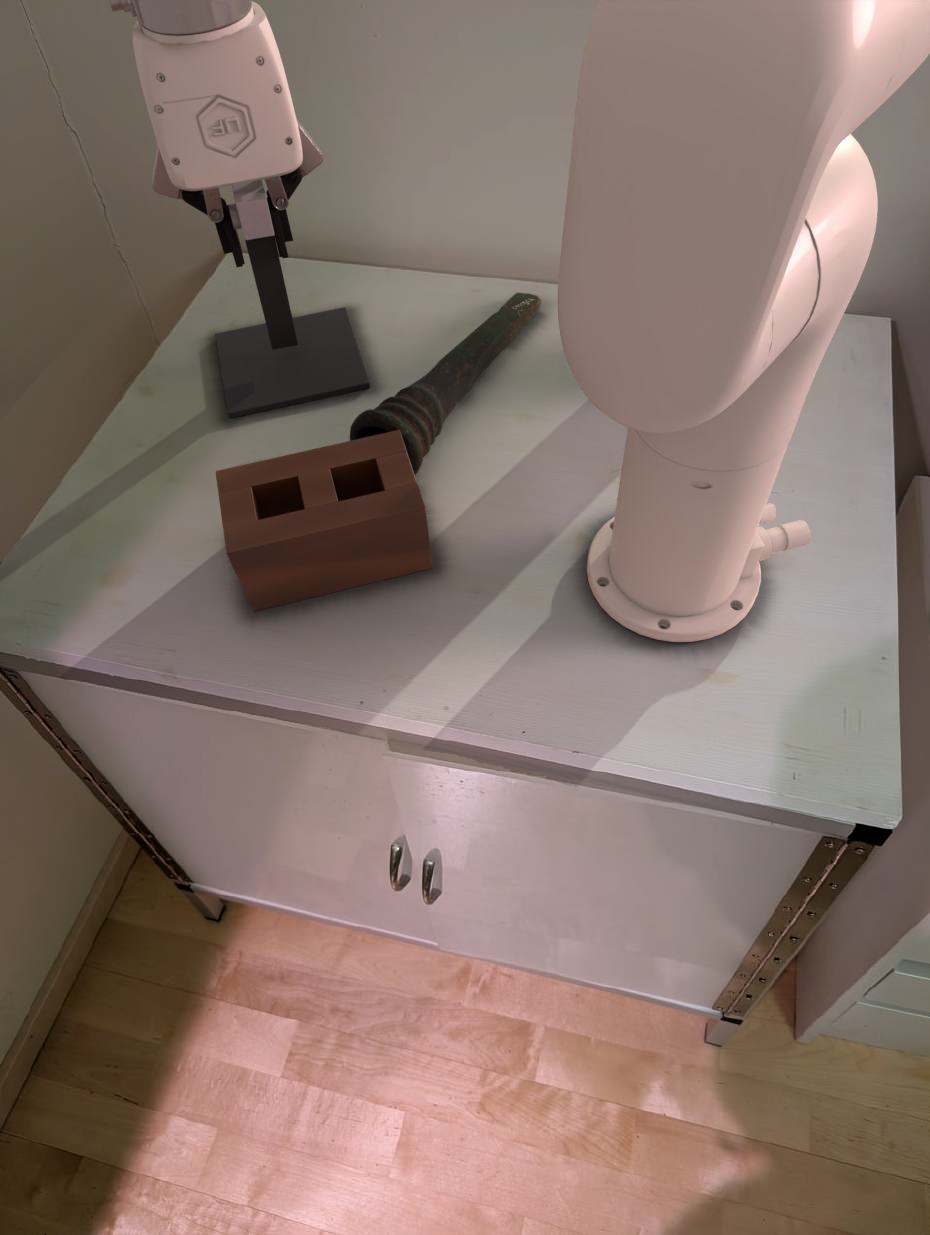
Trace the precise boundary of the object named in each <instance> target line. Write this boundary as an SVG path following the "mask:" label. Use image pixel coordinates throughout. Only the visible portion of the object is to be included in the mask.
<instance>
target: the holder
mask: <svg viewBox="0 0 930 1235" xmlns="http://www.w3.org/2000/svg"><path fill="white" fill-rule="evenodd" d="M215 478H216V479H215V480H216V486H217V487H216V488H217V493H218V494H217V495H218V501H219V509H220V516H221V524H222V528H223V529H222V531H223V537H224V538H223V539H224V545H225V553H226V556H227V558H228V560H229V562H230V564H231V567H232V569H233V571H234V573H235V576H236V578H237V580H238V582H239V584H240V586H241V589H242V591H243V593H244V595H245V598H246V600H247V603H248V604H249V607H250V609H251V611H252V612H253V613H254V612H258V611H262V610H266V609H271V608H274V607H278V606H283V605H287V604H291V603H295V602H299V601H303V600H308V599H311V598H317V597H320V596H323V595H328V594H332V593H336V592H340V591H344V590H348V589H353V588H356V587H361V586H365V585H369V584H373V583H377V582H381V581H385V580H390V579H393V578H398V577H402V576H406V575H410V574H415V573H418V572H422V571H427V570H431V569H433V568H434V563H433V556H432V549H431V548H432V547H431V541H430V532H429V527H428V518H427V512H426V505H425V502H424V499H423V496H422V493H421V490H420V487H419V484H418V481H417V478H416V475H414V472H413V468H412V465H411V462H410V459H409V456H408V453H407V450H406V447H405V444H404V441H403V438H402V435H401V432H400V430H396V431H392V432H388V433H383V434H379V435H374V436H370V437H365V438H361V439H356V440H352V441H350V440H348V441H344V442H339V443H335V444H331V445H326V446H321V447H317V448H312V449H309V450H303V451H299V452H294V453H290V454H286V455H281V456H276V457H272V458H267V459H262V460H258V461H254V462H250V463H249V462H248V463H245V464H241V465H237V466H232V467H231V466H230V467H227V468H223V469H218V470H215Z"/></svg>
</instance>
